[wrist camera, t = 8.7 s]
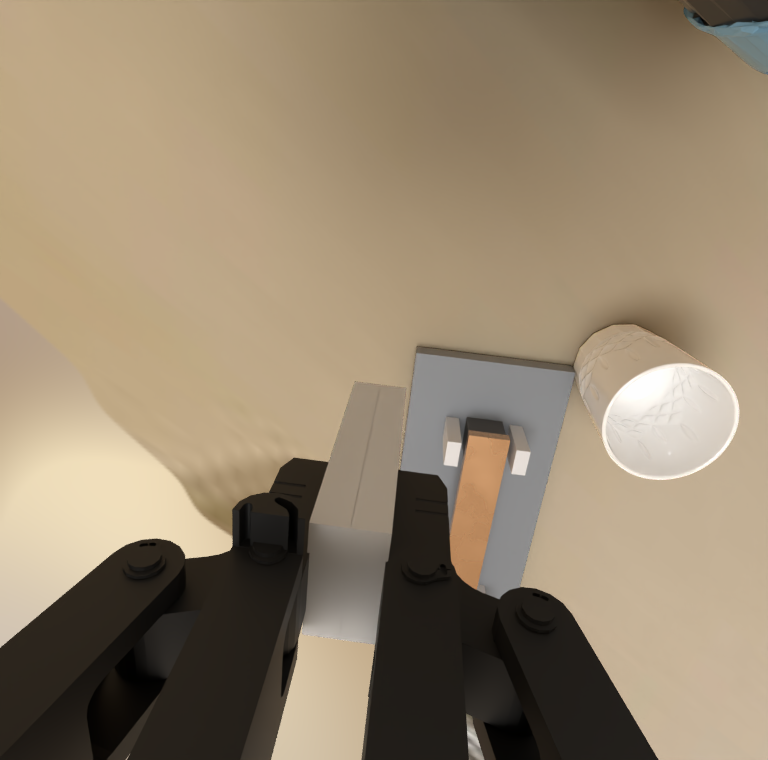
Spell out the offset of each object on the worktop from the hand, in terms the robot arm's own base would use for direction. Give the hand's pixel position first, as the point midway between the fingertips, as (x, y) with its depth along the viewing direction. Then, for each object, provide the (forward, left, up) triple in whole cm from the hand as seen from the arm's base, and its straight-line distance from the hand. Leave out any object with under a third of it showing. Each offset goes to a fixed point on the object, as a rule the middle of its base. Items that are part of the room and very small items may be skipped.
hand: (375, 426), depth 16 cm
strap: (+20, +8, -22) cm, 31 cm away
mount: (+19, +8, -26) cm, 33 cm away
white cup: (+6, +17, -27) cm, 32 cm away
